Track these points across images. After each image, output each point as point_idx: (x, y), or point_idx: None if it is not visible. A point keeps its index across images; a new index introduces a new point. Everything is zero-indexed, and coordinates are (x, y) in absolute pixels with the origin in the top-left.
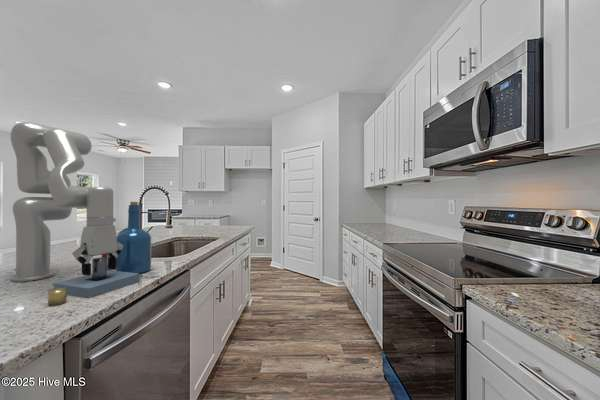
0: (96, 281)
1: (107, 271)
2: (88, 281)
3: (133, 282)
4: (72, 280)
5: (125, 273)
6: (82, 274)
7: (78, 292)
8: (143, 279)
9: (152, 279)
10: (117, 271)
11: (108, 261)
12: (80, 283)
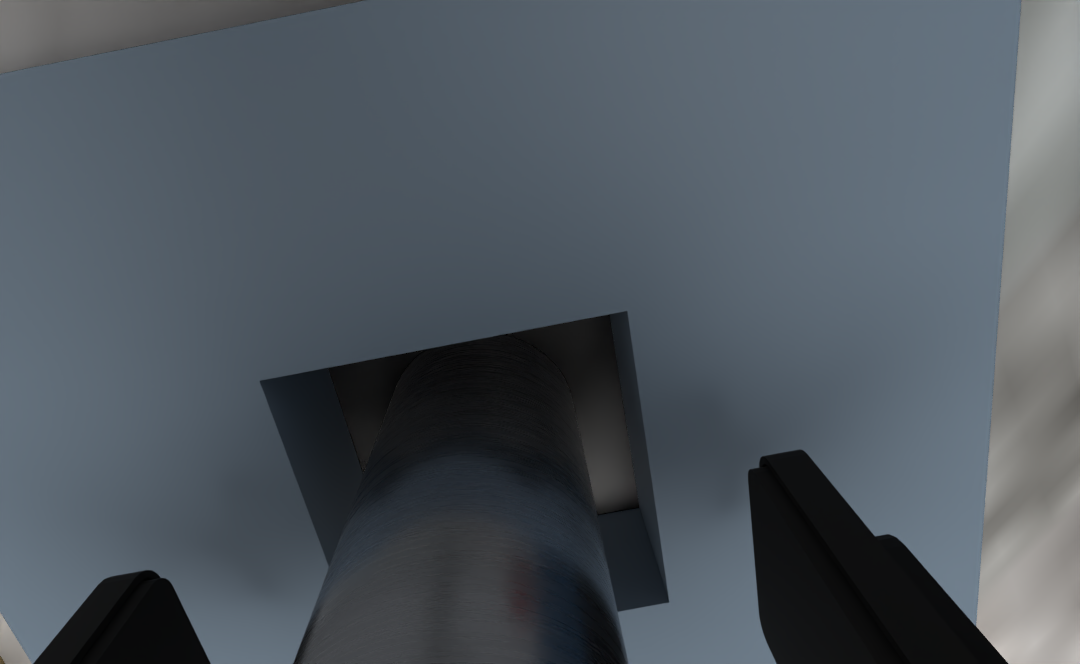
0: None
1: (906, 29)
2: (268, 559)
3: None
4: (64, 221)
5: None
6: (112, 581)
7: None
8: (996, 569)
9: (1028, 658)
10: (980, 258)
11: (838, 626)
12: None
